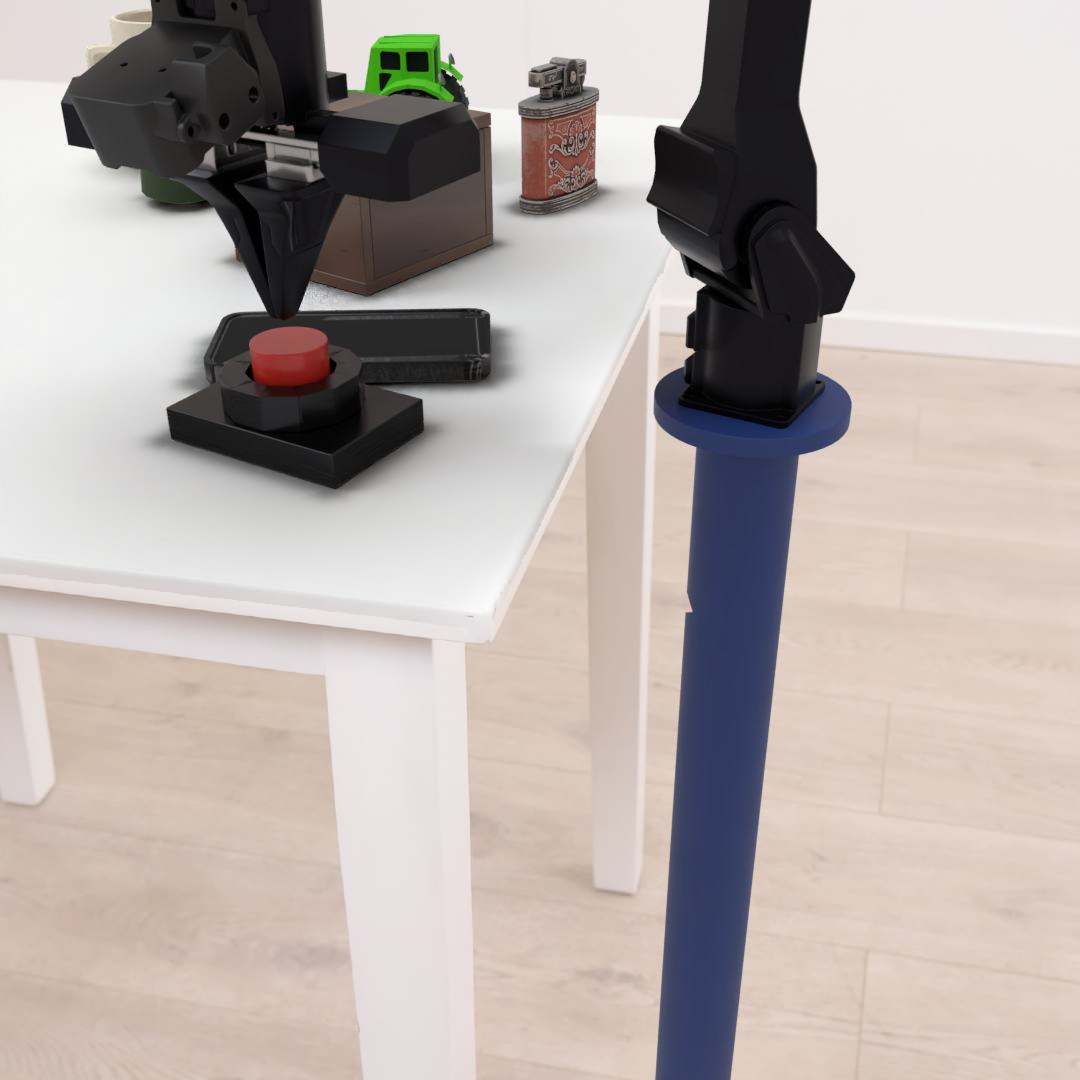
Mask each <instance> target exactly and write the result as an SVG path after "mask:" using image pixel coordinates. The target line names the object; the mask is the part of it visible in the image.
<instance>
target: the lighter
mask: <svg viewBox="0 0 1080 1080" xmlns="http://www.w3.org/2000/svg"><path fill="white" fill-rule="evenodd" d="M586 75H587V59H585V58H569V57H561V56H554V57H552V58H550V60H549V62H548V63H544V64H540V65H537V66H532V67H531V68H530V70H529V71H528V73H527V77H528V79H527V80H528V82H527V83H528V87H529V88H533V89H539V93H537V94H535V95H533V96H529V97H526V98H525V99H523V100H520V101H519V102H518V103H517V112H518V113H517V114H518V116H520V136H521V137H520V139H521V141H520V143H521V146H520V147H521V152H520V153H521V194H520V195H519V197H518V198H519V199H518V202H519V205H518V206H519V211H521V212H524V213H526V214H532V215H533V214H534V215H542V214H543V215H544V214H545V215H546V214H549V213H553V212H557V211H560V210H564V209H568V208H569V207H573V206H575V205H578V204H580V203H582V202H584V201H586V200H588V199H590V198H591V197H593V196H594V195H596V194H597V193H598V179H597V178H596V147H597V146H596V144H597V143H596V141H597V140H596V139H597V103H598V102H599V101H600V89H599V88H597V87H594V86H587V85H584V83H585V80H586Z"/></svg>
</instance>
